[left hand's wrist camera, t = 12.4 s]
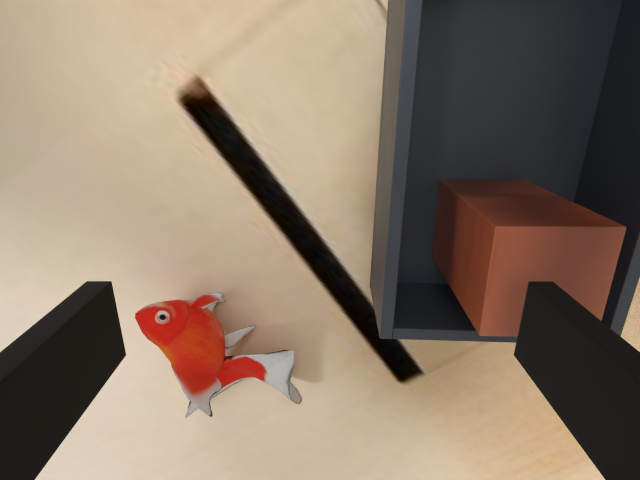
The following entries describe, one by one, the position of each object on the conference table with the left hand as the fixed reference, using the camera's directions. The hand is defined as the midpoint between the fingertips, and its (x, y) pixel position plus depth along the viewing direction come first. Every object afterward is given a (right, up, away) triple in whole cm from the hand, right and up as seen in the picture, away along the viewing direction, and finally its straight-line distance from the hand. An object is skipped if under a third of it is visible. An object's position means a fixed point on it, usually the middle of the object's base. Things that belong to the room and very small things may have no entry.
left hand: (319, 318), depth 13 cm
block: (+9, +4, +9) cm, 13 cm away
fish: (-7, -6, +24) cm, 26 cm away
